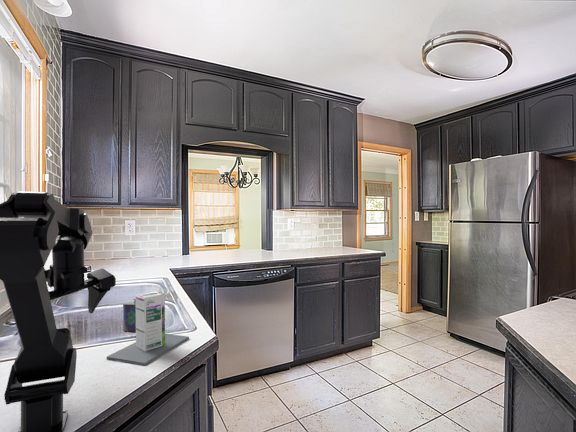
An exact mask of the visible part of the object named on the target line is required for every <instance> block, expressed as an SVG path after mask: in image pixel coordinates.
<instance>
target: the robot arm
mask: <svg viewBox="0 0 576 432" xmlns="http://www.w3.org/2000/svg"><path fill="white" fill-rule="evenodd" d="M58 236H59V237H58ZM92 236H93V229H92V225H91V222H90V219H89V216H88V214H87V213H85V211H84V209H83V208H78V207H77V208H75V207H73V208H72V207H67V206H65V205H63V203H62V202H60V201H58V200H57V199H55V195H54V194H53V193H49V192H47V191H21V190H19V191H17V192H13V193H11V194H10V195H9V197H8V198H7V200H6V201H3V202H2V203H1V202H0V280H1V281H2V283H3V287H4V289H5V290H4V291H5V293H6V296H7V300H8V304H9V307H10V310H11V313H12V316H13V319H14V323H15V326H16V329H17V333H18V336H19V339H20V343H21V346H20V350H19V351H18V354H17V356H16V358H15V360H14V362H13V364H12V365H11V368H10V372H9V376H8V380H7V385H6V388H5V392H4V395H3V396H4V401H5V405H6V406H8V405H11V404H14V403H20V427H19V429H18V432H64V428H65V426H66V422H67V419H68V416H69V411H68V410H64V395H68V394H69V393H70V391H71V388H72V387H73V385H74V383H75V382H76V381H75V380H76V366H77V348H76V347H74V346H73V340H72V338H71V331H70V329H69V328H68V327H61V328H57V325H56V320H55V315H54V310H53V306H52V302H54V301H57V300H60V299H62V298H65V297H67V296H70V295H73V294H77V293H78V292H80V291H82V290H85V289H87V290H88V294H87V295H88V296H87V297H88V298H87V309H88V310H87V311H88V313H89V314H93V313H94V312H95V310H96V308H97V307H98V305H99V304H100V302H101V301H102V299H103V298H104V297H105V296H106V294H107V293H108V292H109V291H111V289H112V288H114V287H115V286H116V285H117V284H116V282H117V281H116V276H115V275H114V274H112V273H111V272H109V271H107V270H106V269H104V268H103V267H102V268H99V269H96V270H93V271H90V272H88V267H86V266H85V250H86V249H87V247H88V245H89V244H90V241H91V238H92ZM51 253H52V254H51ZM50 254H51V256H52V264H50V265H47V266H45V265H46V263H47V261H48V258H49V257H50ZM85 273H87V274H86V278H85ZM48 287H49V288H53V290H51V291H49V288H48ZM60 378H64V379H60ZM52 379H58V380H52ZM46 380H52V381H46ZM40 381H46V382H41V383H34V384H27V385H23V384H26V383H33V382H40Z"/></svg>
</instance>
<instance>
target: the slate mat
mask: <svg viewBox="0 0 576 432" xmlns="http://www.w3.org/2000/svg"><path fill="white" fill-rule="evenodd" d="M189 339H190V336H185V335H180V334H179V335H178V334H170V333H165V346H161V347H158V348H155V349H151V350H148V351H146V352H145V351H143V350H141V349H139V348H138V347H137V346H136V341H135V342H133V343H132V344H130V345H129V344H128V345H127V346H125V347H123V348H121V349H119V350H117V351H115V352H113V353H111V354H108V355H107V356H106V360H110V361H116V362H120V363H121V362H123V363H128V364H133V365H139V366H146V365H149V363H151V362H153V361H154V360H157V359H158V358H161V356H163V355H164V354H167V353H168V352H169V351H171V350H173V349H174V348H177V347H178V346H179V345H181V344H183V343H185V342H186V341H188V340H189Z"/></svg>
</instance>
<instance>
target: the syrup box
mask: <svg viewBox="0 0 576 432" xmlns="http://www.w3.org/2000/svg"><path fill="white" fill-rule="evenodd" d="M135 299H136V333H135V342H136V346H137V347H138V348H139V349H141V350H143V351H145V352H146V351H148V350H151V349H155V348H158V347H161V346H165V334H166V300H165V299H166V296H165V293H164V292H161V291H151V292H145V293H141V294H135Z"/></svg>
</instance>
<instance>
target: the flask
mask: <svg viewBox="0 0 576 432" xmlns="http://www.w3.org/2000/svg"><path fill="white" fill-rule="evenodd" d="M132 300H133V301H134V302H124V303H123V304H122V308H123V310H122V313H123V315H122V316H123V317H122V321H123V322H122V331H123V332H124V333H129V334H136V298H133V299H132Z"/></svg>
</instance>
